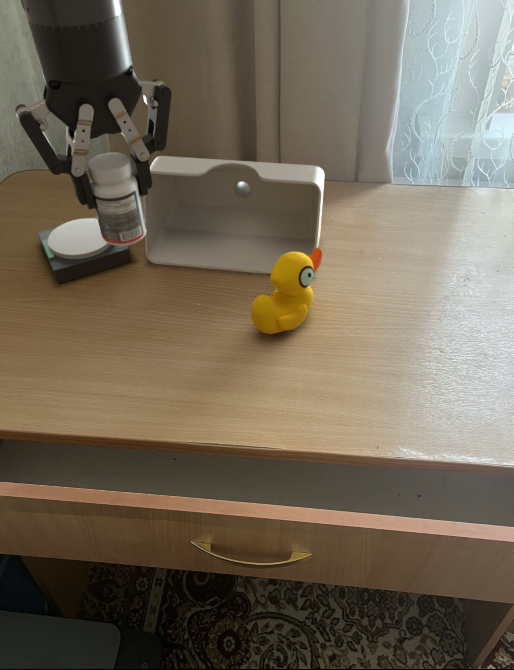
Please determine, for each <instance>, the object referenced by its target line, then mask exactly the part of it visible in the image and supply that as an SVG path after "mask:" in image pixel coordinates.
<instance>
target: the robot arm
mask: <svg viewBox="0 0 514 670" xmlns="http://www.w3.org/2000/svg"><path fill="white" fill-rule="evenodd" d="M20 2H21V7H22V9H23V11H24V12H25V15H26V19H27V23H28V26H29V29H30V33H31V37H32V41H33V44H34V49H35V51H36V55H37V59H38V62H39V66H40V70H41V74H42V75H43V80H44V88H43V89H44V90H43V93H42V98H41V99H39V100H37V101H36V102H33V103H31V104H29V105H26V104H24V103H19V104H18V105H16V106H15V108H14V113H15V115H16V117H17V120H18V122H19V123H20V125H21V127H22V128H23V130H24V131H25V133H26V135H27V136H28V138H29V140H30V141H31V143H32V145H33V146H34V147H35V149H36V151H37V152H38V154H39V155H40V157H41V159H42V160H43V162H44V164H45V165H46V167H47V168H48V170H49V171H50V173H51V174H52V175H56V176H59V175H61V174H66V175H69V176H70V179H71V183H72V186H73V190H74V193H75V197H76V198H77V200H78V202H79V203H80V205H81V206H86V207H87V209H88V210H93V209H94V210H95V208H96V205H95V201H94V197H93V193H92V189H91V185H90V181H91V180H90V176H89V174H88V173H87V170H86V164H87V156H88V154H89V151H90V141H91V140H93V139H97V138H100V137H101V136H103V135H116V134H119V133H120V134H121V135H122V136H123V138H124V140H125V142H126V144H127V145H128V147H129V149H130V151H131V152H130V154H129V156H128V157H129V159H130V163H131V167H132V174H134V175H135V177H136V178H137V181H138V186H139V192H140V197H143V196H145V195H148V189H150V188H151V187H152V178H151V172H150V166H151V165H150V157H151V156H152V155H153V154H154V153H155V152H162V151H164V150H165V149H166V147H167V141H168V131H169V123H170V113H171V104H172V103H171V102H172V93H173V92H172V90H171V88H169V86H168V85H167V84H166V83H165V82H164V81H162V80H161V79H160V78H154V79H152V80H151V81H148V80H140V79H139V78H138V76H137V75H136V73H135V70H134V65H133V60H132V53H131V48H130V42H129V36H128V35H129V34H128V30H127V23H126V18H125V12H124V7H123V6H124V5H123V0H20ZM141 96H143V101H144V103H145V104H146V106H148V109H147V121H146V132H145V135H143V136H141V135H140V133H139V132H138V130H137V127H136V126H135V124H134V122H133V120H132V119H131V118H132V116H133V113H134V111H135V108H136V107H137V104H138V102H139V100H140V98H141ZM50 113H51V114H52V115H53V116H54V117H56V119H58V120H59V121H60V122H61V123H62V124H64V125H65V126H66V135H65V137H66V151H65V154H59V153H57V152H56V151H55V149H54V147H53V146H52V144H51V142H50V141H49V139H48V137H47V136H46V134H45V131H46V130H47V129H48V127H49V122H48V119H47V118H48V116H49V114H50Z"/></svg>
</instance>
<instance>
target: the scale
mask: <svg viewBox="0 0 514 670" xmlns="http://www.w3.org/2000/svg"><path fill="white" fill-rule="evenodd" d="M36 233H37V237H38V239H39V242H40V245H41V247H42V250H43V252H44V254H45V257H46V259H47V261H48V264H49V266H50V268H51V271H52V273H53V275H54V278H55V280H56V283H57V284H58V285H60V284H64V283H66V282H67V283H68V282H70V281H74V280H77V279H80V278H83V277H86V276H89V275H93V274H96V273H99V272H103V271H106V270H109V269H113V268H116V267H120V266H122V265H126V264H129V263H132V262H133V260H132V256H131V255H132V254H131V250H130V248H129V245H128V246H115V245H111V244H108V243H107V242H105V241H104V239H103V238H102V235H101V231H100V227H99V223H98V219H97V215H96V216H93V217H86V218H85V217H84V218H77V219H73V220H70V221H67V222H65V223H62V224H60V225H58V226H55V227H52V228H48V229H45V230H41V231H38V232H36Z"/></svg>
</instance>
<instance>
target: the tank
mask: <svg viewBox="0 0 514 670" xmlns="http://www.w3.org/2000/svg"><path fill="white" fill-rule="evenodd" d="M149 166H150V172H151V178H152V187H151V188H150V189H148V195H145V196H142V201H143V202H142V207H143V213H144V218H145V223H146V229H147V231H146V234H145V236H144V249H145V250H144V251H145V256H146V258H147V260H148V261H149V262H150V263H152V264H155V265H166V266H175V267H176V266H177V267H186V268H197V269H198V268H199V269H211V270H221V271H231V272H244V273H252V274H253V273H255V274H265V275H271V272H272V269H273V266H274V265H275V263H276V261H277V260H278V259H279V258H280V257H281V256H282V255H284V254H286V253H288V252H301V253H304V254H306V255H307V256H309V255H311V254H312V253H313V251H314V250H315V249H316V248H319V244H320V238H321V230H322V229H321V228H322V227H321V226H322V215H323V201H324V188H325V172H324V170H323V169H322V168H321V167H320V166H318V165H310V164H298V163H297V164H295V163H282V162H281V163H280V162H279V163H278V162H266V161H265V162H264V161H251V160H250V161H249V160H235V159H234V160H233V159H232V160H231V159H220V158H219V159H217V158H201V157H187V156H186V157H185V156H169V155H159V156H157V157H155V158H154V160H153V161H152V162H151V164H150V165H149Z"/></svg>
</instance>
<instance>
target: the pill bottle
mask: <svg viewBox="0 0 514 670" xmlns="http://www.w3.org/2000/svg"><path fill="white" fill-rule="evenodd" d="M87 168H88V173H89V174H88V175H89V178H90V180H89V181H90V185H91V189H92V193H93V197H94V201H95V205H96V208H94V211H95V215H96V216H97V219H98V223H99V227H100V231H101V235H102V238H103V239H104V241H105V242H107V243H108V244H111V245H115V246H128V247H129V246H132V245H135V244H136V243H138V242H140V241H141V240H142V239H144V238H145V234H146V231H147V229H146V223H145V218H144V207H143V202H142V196H141V195H140V192H139V186H138V181H137V178H136V177H135V175H134V174H133V172H132V167H131V161H130V156H128V155H126V154H125V153H121V152H105V153H100V154H97V155H95V156H94V157H92V158H91V159H89V161H88V162H87Z"/></svg>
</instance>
